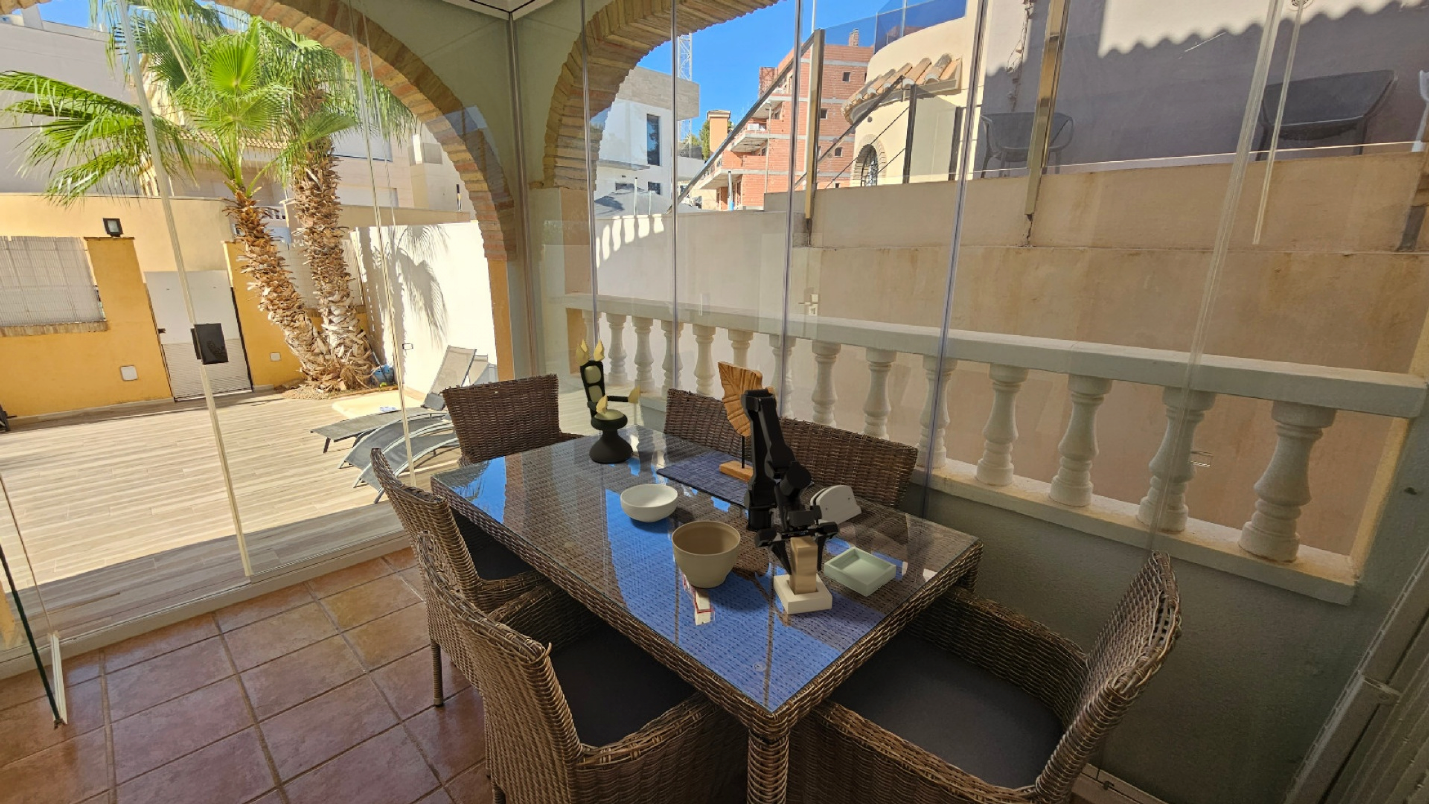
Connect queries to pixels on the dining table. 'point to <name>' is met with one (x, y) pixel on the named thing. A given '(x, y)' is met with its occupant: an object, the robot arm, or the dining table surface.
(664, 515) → the cereal bowl
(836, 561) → the tray
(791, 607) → the block
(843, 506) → the white napkin holder
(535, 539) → the dining table surface
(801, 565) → the wooden block
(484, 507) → the dining table surface
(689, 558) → the planter bowl
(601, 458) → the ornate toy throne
